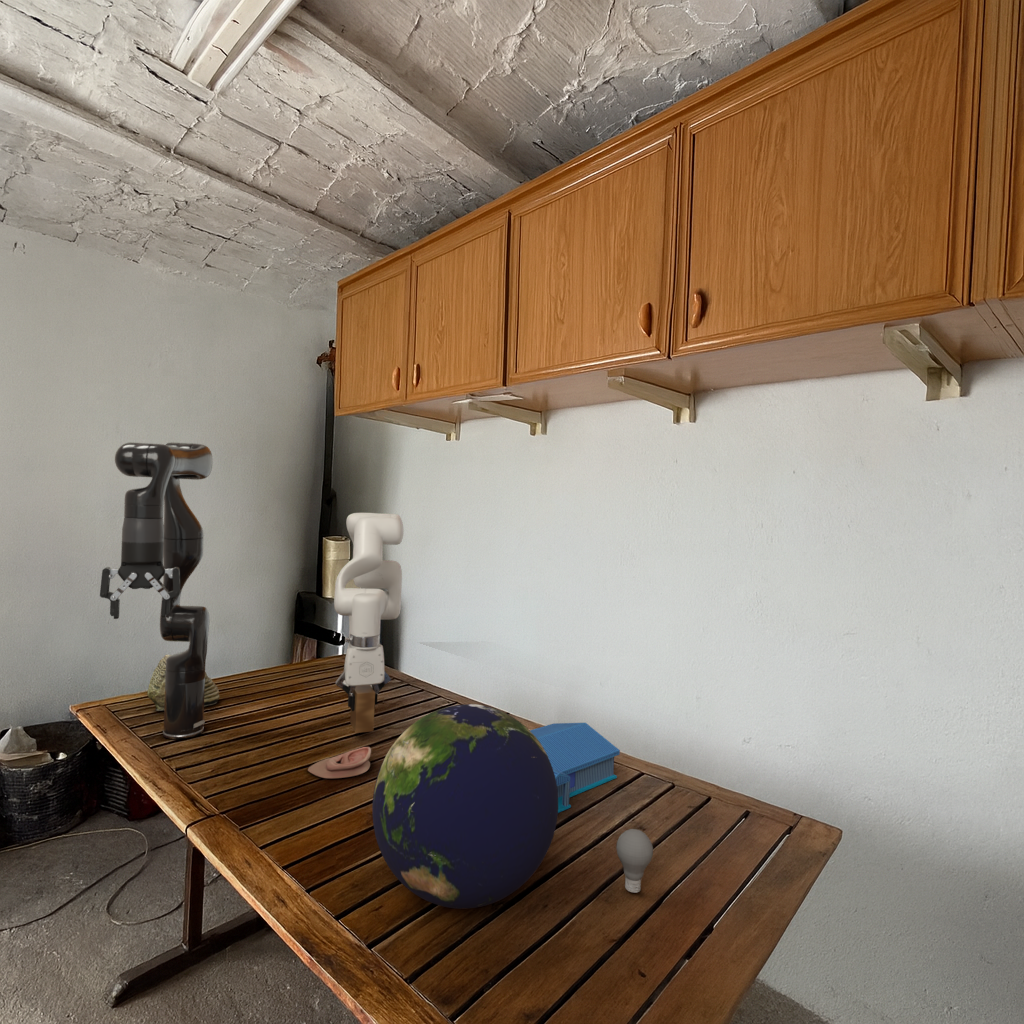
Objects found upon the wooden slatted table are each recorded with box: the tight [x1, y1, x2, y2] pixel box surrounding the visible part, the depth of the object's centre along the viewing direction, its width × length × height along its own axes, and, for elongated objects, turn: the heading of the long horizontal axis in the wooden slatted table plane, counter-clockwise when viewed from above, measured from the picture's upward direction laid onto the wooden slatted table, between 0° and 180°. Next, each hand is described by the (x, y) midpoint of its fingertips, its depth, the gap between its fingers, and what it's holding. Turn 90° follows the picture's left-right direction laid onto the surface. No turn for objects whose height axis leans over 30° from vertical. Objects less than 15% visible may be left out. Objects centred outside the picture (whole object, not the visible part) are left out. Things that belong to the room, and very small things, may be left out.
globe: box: [371, 703, 559, 910], centre depth 103 cm, size 30×30×30 cm
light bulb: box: [615, 828, 654, 894], centre depth 106 cm, size 6×6×10 cm
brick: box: [349, 685, 376, 734], centre depth 169 cm, size 5×7×10 cm, turn 25°
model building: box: [529, 722, 621, 814], centre depth 143 cm, size 39×24×10 cm, turn 132°
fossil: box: [147, 654, 221, 712], centre depth 185 cm, size 9×18×15 cm, turn 132°
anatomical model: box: [307, 746, 372, 779], centre depth 147 cm, size 13×4×12 cm
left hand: (140, 617), depth 131 cm, fingers open, 8 cm apart
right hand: (362, 707), depth 169 cm, fingers closed on brick, 4 cm apart
